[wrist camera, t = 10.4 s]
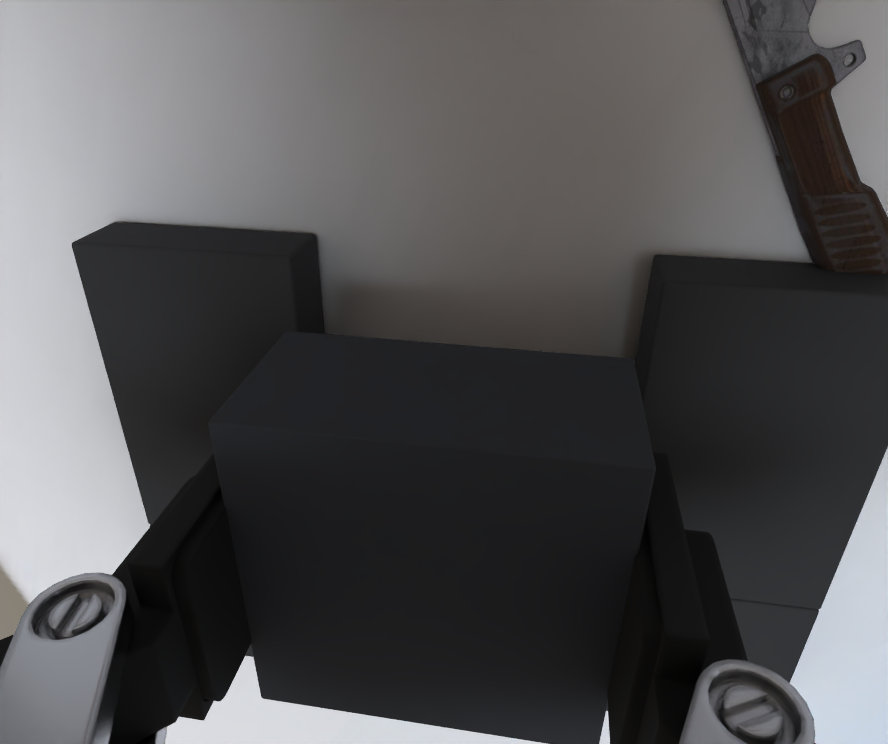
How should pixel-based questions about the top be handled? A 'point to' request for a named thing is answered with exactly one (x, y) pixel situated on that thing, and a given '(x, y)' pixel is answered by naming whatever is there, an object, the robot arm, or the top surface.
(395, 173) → the top surface
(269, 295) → the base pad
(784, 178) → the knife
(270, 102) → the top surface
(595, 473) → the small pad
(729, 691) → the robot arm
